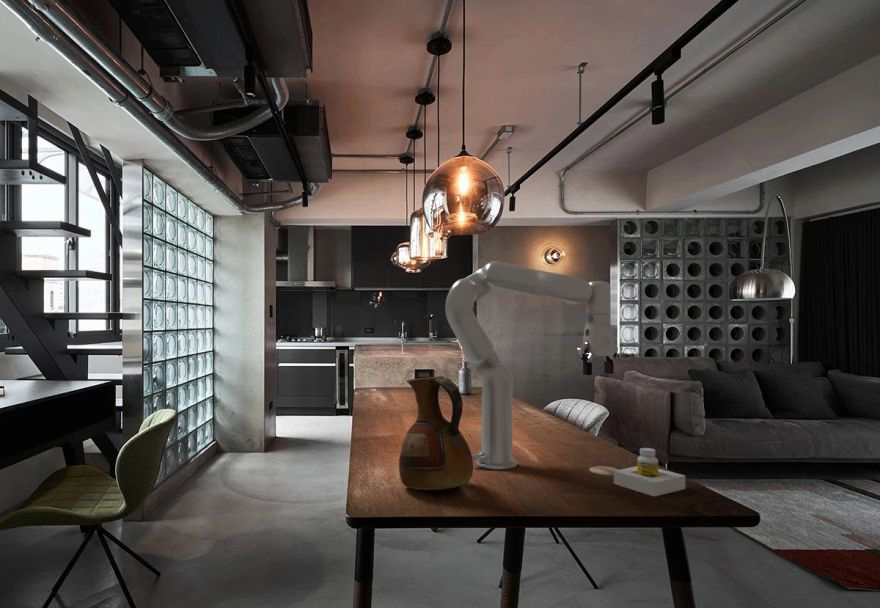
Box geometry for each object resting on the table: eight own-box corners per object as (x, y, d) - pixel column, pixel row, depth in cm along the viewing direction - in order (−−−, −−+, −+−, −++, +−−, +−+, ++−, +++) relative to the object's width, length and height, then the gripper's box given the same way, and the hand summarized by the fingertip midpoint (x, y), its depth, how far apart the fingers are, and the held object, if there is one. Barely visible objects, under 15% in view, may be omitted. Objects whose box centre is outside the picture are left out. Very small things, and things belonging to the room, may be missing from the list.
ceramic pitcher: (423, 473, 157) (424, 371, 158) (485, 484, 147) (486, 374, 148) (383, 491, 140) (384, 375, 142) (450, 504, 130) (451, 380, 131)
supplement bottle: (657, 483, 149) (656, 448, 149) (659, 488, 143) (659, 452, 144) (636, 481, 150) (636, 446, 150) (638, 486, 145) (638, 450, 145)
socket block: (654, 496, 138) (654, 482, 138) (613, 483, 149) (613, 470, 149) (685, 488, 145) (685, 475, 145) (644, 477, 156) (644, 464, 156)
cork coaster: (612, 478, 156) (612, 476, 156) (584, 472, 162) (584, 470, 162) (625, 472, 162) (626, 470, 162) (598, 466, 169) (598, 464, 169)
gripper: (587, 319, 164) (588, 376, 163) (625, 320, 173) (626, 374, 172) (569, 320, 170) (570, 374, 169) (607, 320, 179) (607, 372, 178)
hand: (598, 374), depth 171 cm, fingers open, 9 cm apart
